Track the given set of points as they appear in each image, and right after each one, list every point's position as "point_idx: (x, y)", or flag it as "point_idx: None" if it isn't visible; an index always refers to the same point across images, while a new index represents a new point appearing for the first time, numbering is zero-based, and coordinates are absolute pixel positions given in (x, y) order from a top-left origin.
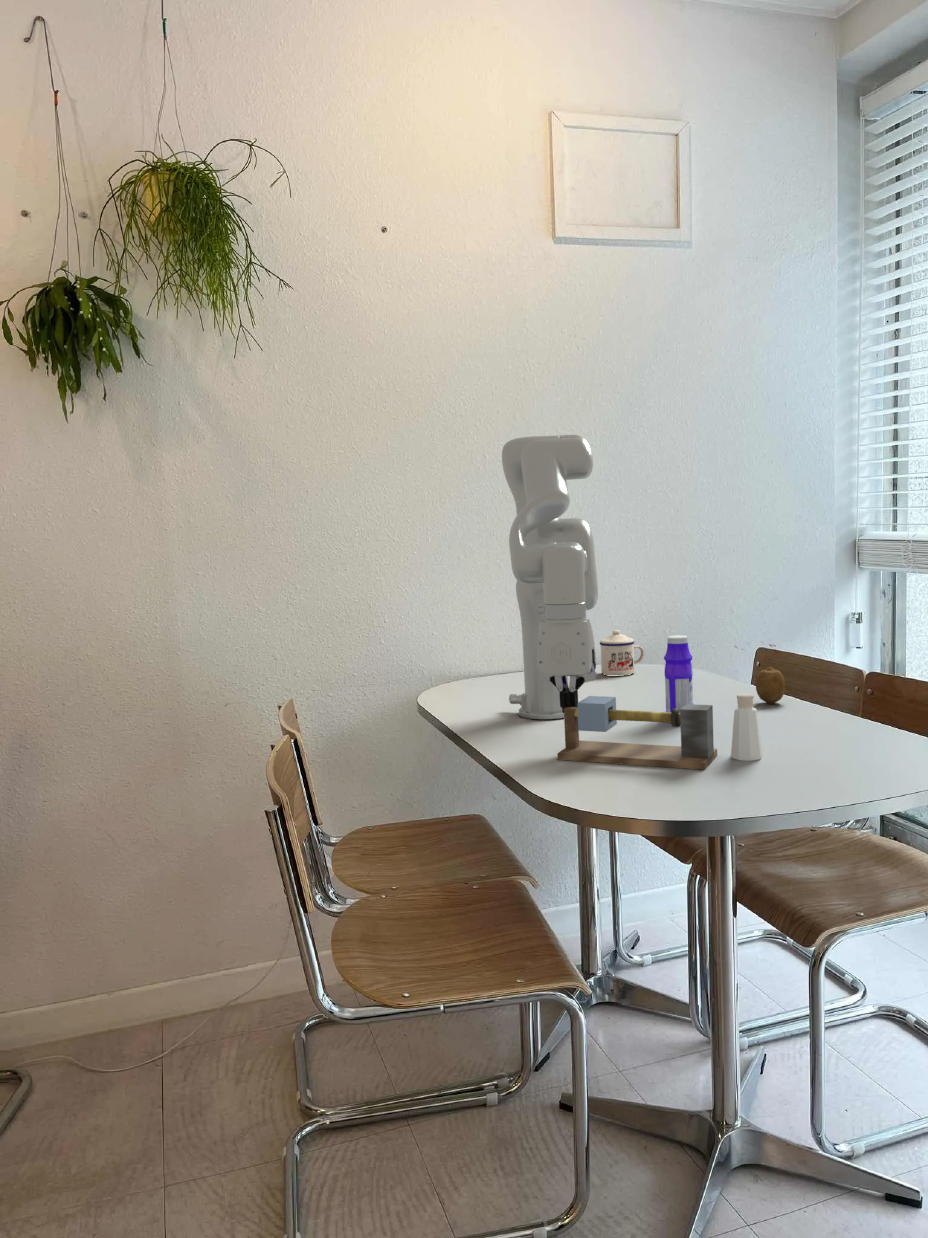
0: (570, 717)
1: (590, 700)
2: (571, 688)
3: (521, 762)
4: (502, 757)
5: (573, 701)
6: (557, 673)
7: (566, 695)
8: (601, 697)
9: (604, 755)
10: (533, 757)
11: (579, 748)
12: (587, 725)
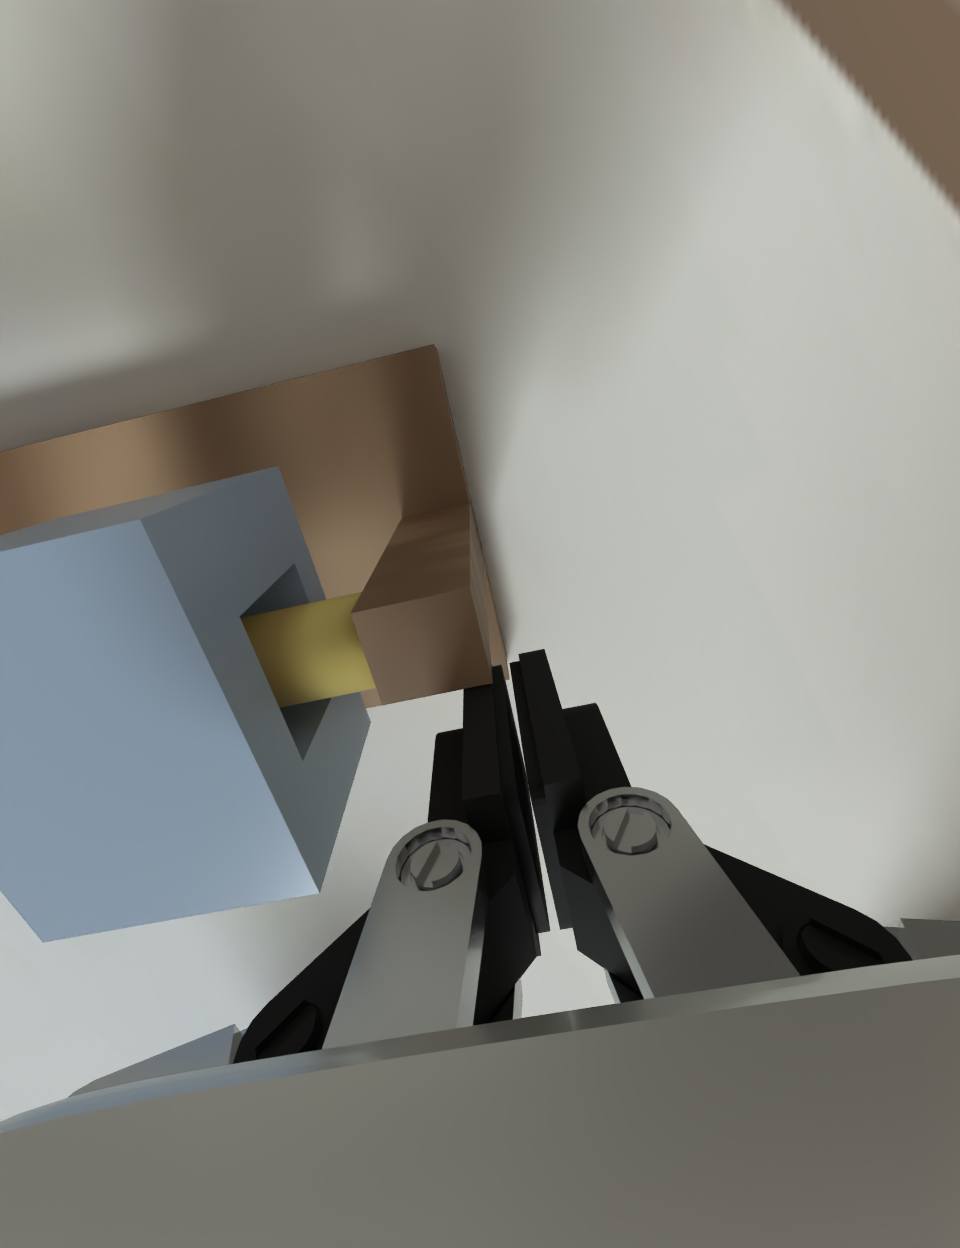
0: (408, 575)
1: (114, 714)
2: (441, 862)
3: (630, 155)
4: (824, 220)
5: (451, 764)
6: (710, 1045)
7: (509, 765)
8: (144, 879)
9: (132, 444)
10: (617, 333)
11: (382, 528)
12: (174, 492)
